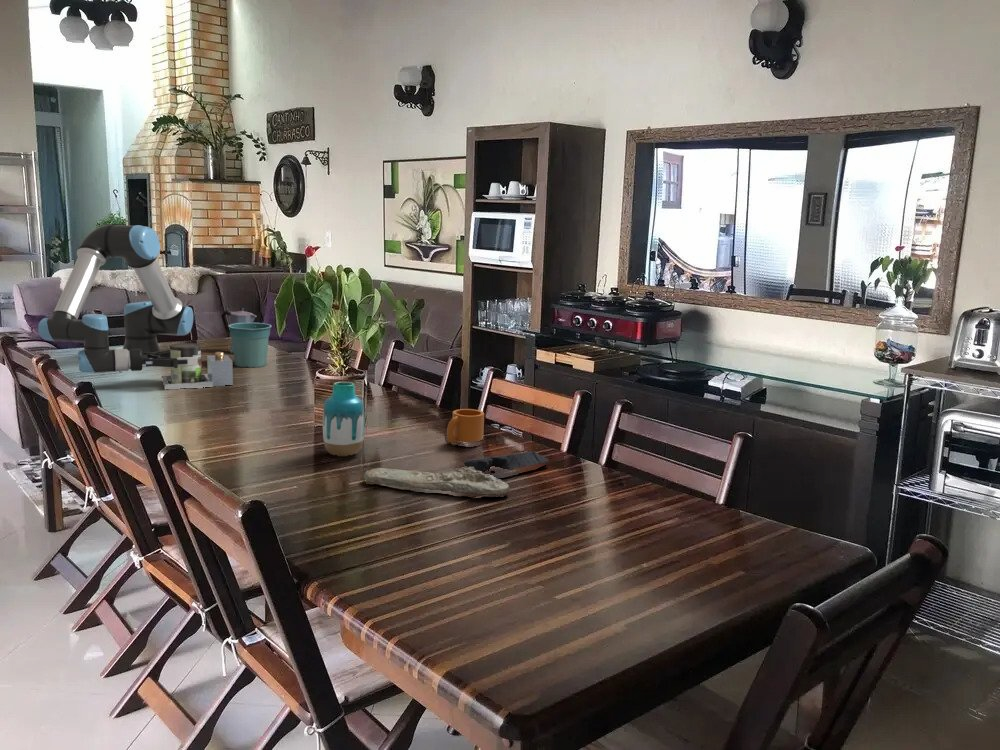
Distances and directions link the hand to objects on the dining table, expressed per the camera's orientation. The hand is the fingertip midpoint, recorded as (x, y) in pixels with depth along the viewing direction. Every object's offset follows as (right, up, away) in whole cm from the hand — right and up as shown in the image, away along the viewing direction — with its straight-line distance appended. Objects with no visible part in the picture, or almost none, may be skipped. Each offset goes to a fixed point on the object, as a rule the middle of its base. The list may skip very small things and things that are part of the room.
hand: (195, 357), depth 285 cm
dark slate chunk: (+109, -31, -78) cm, 137 cm away
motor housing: (0, -9, +2) cm, 10 cm away
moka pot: (-5, +3, +65) cm, 65 cm away
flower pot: (+7, -2, +40) cm, 40 cm away
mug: (+97, -26, -59) cm, 116 cm away
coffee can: (-3, -10, +1) cm, 10 cm away
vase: (+66, -27, -74) cm, 103 cm away
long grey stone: (+92, -33, -96) cm, 137 cm away
